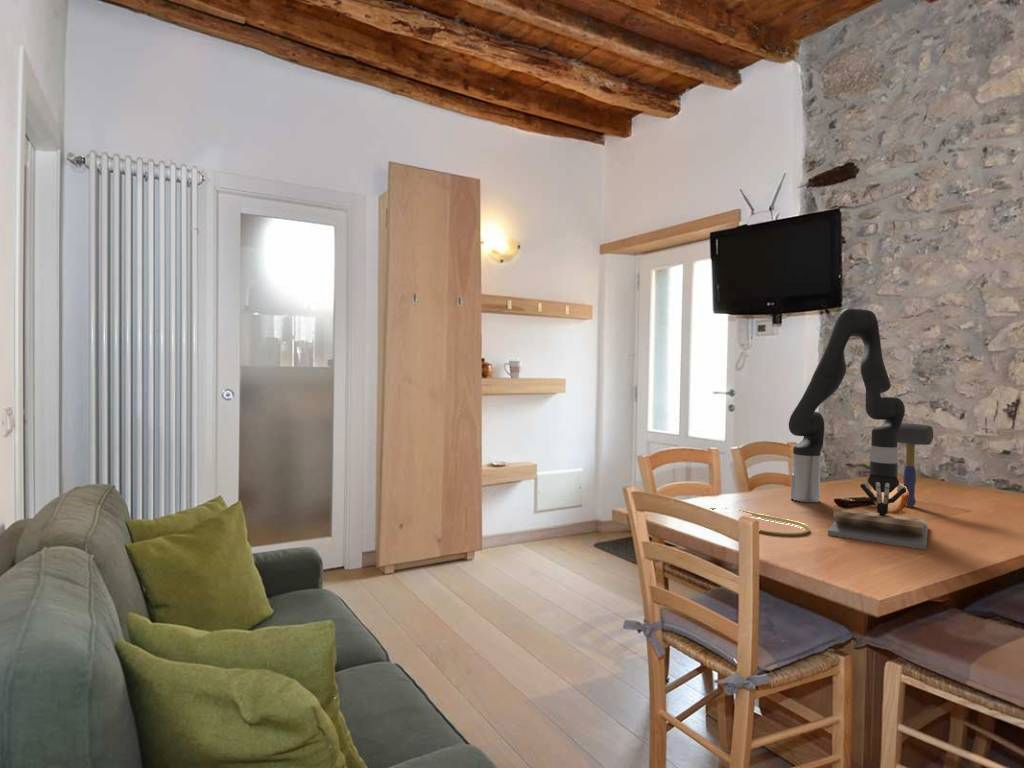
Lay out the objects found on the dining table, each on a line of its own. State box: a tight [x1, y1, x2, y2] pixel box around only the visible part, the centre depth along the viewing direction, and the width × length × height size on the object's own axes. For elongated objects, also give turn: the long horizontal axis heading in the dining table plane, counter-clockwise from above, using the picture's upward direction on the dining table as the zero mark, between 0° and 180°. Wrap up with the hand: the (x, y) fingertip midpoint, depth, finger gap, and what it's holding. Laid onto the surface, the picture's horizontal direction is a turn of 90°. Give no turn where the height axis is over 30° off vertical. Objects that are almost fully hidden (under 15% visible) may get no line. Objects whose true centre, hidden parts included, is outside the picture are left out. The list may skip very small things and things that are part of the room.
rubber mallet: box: [897, 422, 934, 508], centre depth 219 cm, size 12×8×30 cm, turn 39°
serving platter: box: [709, 507, 811, 537], centre depth 193 cm, size 19×35×2 cm, turn 42°
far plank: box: [840, 508, 925, 528], centre depth 191 cm, size 22×8×2 cm, turn 55°
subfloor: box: [827, 520, 929, 551], centre depth 184 cm, size 24×28×3 cm
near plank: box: [832, 510, 923, 536], centre depth 178 cm, size 22×8×2 cm, turn 55°
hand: (882, 514), depth 193 cm, fingers closed
